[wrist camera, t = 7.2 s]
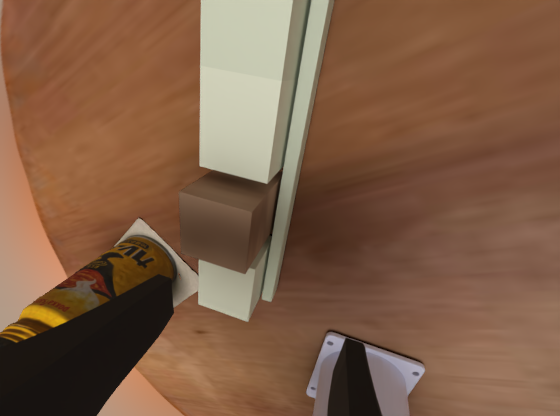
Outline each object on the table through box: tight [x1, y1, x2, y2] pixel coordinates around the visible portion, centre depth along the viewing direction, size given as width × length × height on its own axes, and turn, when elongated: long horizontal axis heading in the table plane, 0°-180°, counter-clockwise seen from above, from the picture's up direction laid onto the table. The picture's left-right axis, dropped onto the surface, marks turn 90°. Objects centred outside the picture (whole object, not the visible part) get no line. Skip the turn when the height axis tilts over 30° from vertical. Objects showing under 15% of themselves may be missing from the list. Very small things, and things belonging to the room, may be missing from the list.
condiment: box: [0, 218, 199, 348], centre depth 21 cm, size 7×8×12 cm
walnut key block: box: [179, 170, 283, 274], centre depth 17 cm, size 4×4×6 cm
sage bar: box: [198, 0, 334, 322], centre depth 17 cm, size 21×5×4 cm, turn 171°
